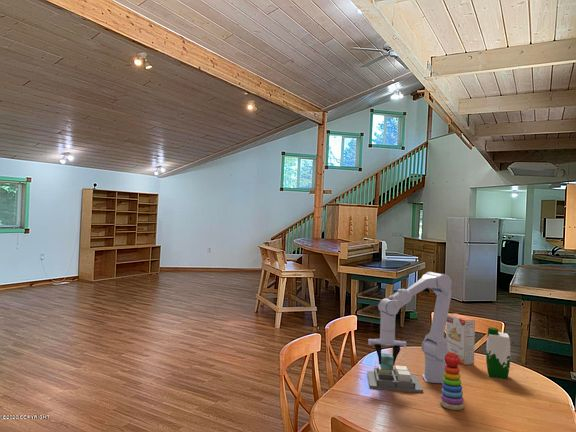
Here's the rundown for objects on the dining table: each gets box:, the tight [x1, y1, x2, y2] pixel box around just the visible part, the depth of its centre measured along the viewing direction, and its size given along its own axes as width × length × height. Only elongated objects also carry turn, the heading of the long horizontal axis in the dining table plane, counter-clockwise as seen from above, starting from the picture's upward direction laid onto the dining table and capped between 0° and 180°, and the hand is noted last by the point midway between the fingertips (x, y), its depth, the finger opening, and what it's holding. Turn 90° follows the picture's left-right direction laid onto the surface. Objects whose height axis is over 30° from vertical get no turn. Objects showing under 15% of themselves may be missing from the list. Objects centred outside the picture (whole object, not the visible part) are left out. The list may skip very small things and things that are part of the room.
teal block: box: [379, 352, 394, 371], centre depth 164 cm, size 4×4×5 cm
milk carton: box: [485, 327, 511, 381], centre depth 179 cm, size 9×9×20 cm
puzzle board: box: [366, 364, 424, 394], centre depth 167 cm, size 20×16×6 cm
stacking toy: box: [439, 352, 465, 411], centre depth 147 cm, size 8×8×19 cm
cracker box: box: [445, 313, 476, 366], centre depth 198 cm, size 14×6×21 cm, turn 14°
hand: (386, 364), depth 164 cm, fingers closed on teal block, 4 cm apart
